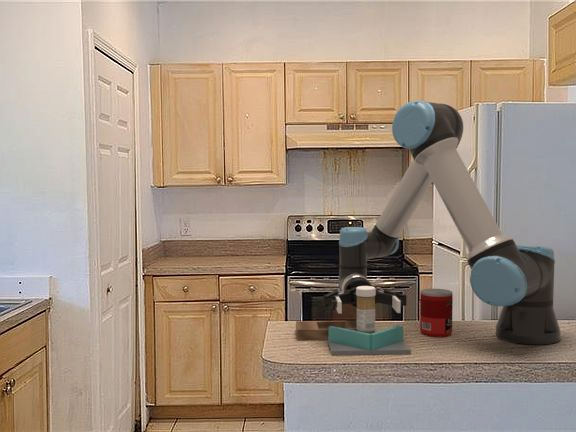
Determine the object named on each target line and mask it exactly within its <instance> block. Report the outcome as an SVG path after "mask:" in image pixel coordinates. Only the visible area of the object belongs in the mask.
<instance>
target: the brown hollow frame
mask: <svg viewBox="0 0 576 432" xmlns="http://www.w3.org/2000/svg"><path fill="white" fill-rule="evenodd" d="M329 326H335V327H340V328H344V329H349V330H354V331H357V319H356V320H355V319H354V320H299V321H297V320H296V321H295V333H296V340H297V341H327V338H329Z"/></svg>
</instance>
